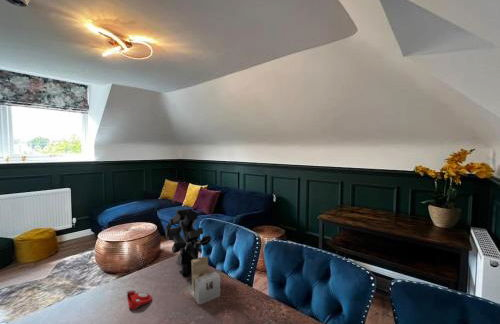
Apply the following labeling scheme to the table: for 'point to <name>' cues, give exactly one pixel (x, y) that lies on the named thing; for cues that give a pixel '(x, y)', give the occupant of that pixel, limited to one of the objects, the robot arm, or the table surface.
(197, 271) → the shaft carriage
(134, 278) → the table surface
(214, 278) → the bearing block
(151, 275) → the table surface
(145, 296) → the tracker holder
